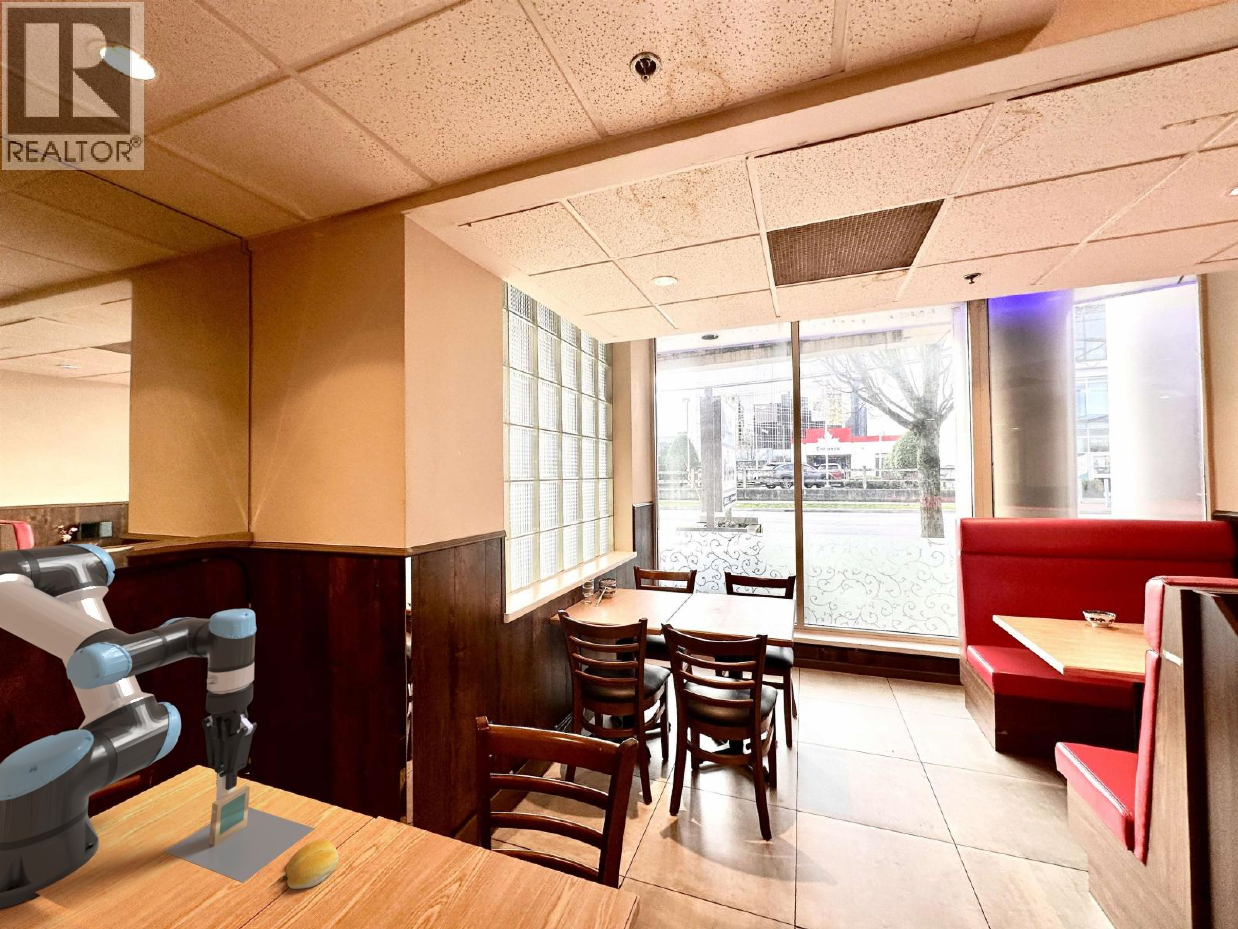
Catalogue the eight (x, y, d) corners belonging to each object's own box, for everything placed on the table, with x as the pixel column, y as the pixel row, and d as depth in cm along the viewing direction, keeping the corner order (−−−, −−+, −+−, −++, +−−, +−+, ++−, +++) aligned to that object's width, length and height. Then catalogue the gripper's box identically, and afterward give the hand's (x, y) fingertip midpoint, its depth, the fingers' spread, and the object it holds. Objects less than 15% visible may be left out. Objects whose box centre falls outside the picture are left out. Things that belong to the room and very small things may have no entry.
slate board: (163, 857, 91) (163, 851, 91) (241, 810, 104) (241, 804, 104) (242, 889, 84) (243, 882, 84) (314, 834, 97) (315, 828, 97)
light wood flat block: (209, 844, 93) (212, 803, 93) (241, 823, 98) (244, 784, 99) (214, 846, 92) (217, 805, 92) (246, 825, 98) (249, 786, 98)
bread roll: (289, 900, 82) (290, 877, 82) (283, 868, 89) (284, 846, 89) (342, 875, 88) (343, 853, 88) (333, 846, 94) (334, 826, 94)
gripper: (188, 689, 95) (183, 808, 94) (232, 699, 91) (227, 823, 90) (228, 675, 103) (224, 786, 102) (271, 683, 99) (267, 798, 98)
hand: (225, 803), depth 96 cm, fingers closed
